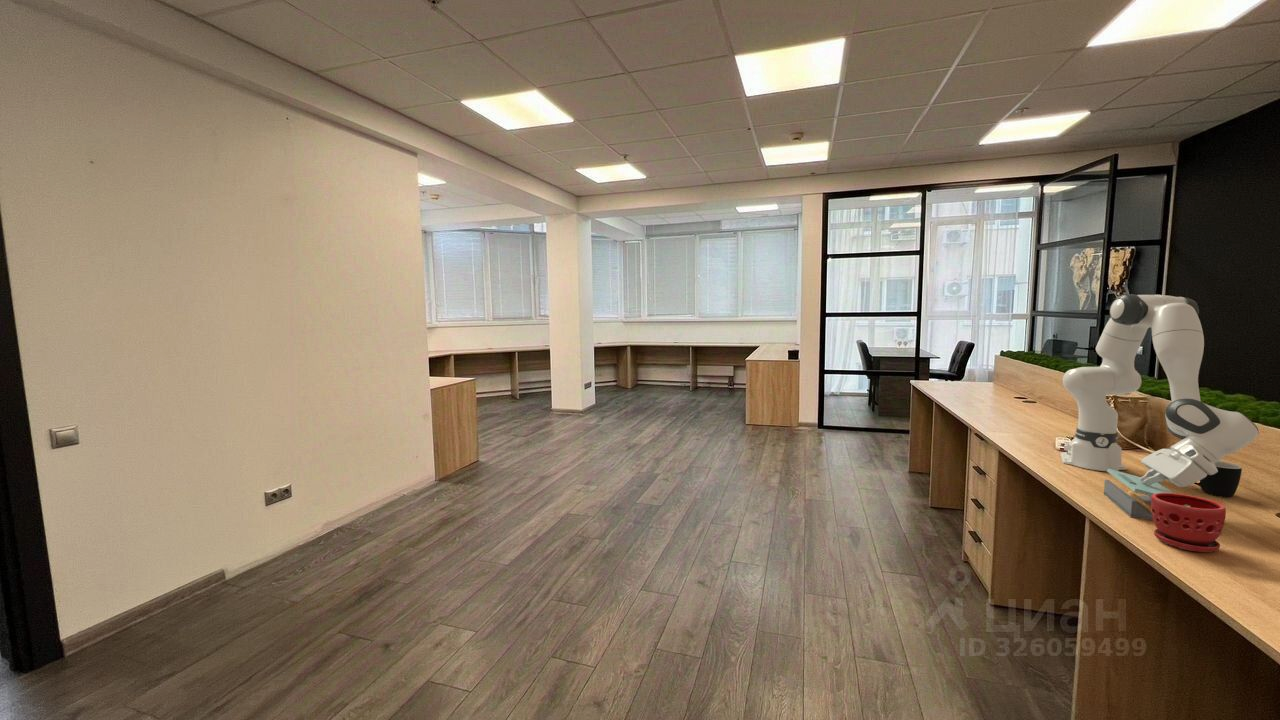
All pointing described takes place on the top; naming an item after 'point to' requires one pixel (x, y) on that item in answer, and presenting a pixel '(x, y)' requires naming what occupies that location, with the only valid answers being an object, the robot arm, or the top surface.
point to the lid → (1138, 484)
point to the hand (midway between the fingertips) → (1143, 482)
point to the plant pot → (1187, 521)
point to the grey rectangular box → (1129, 501)
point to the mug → (1222, 480)
